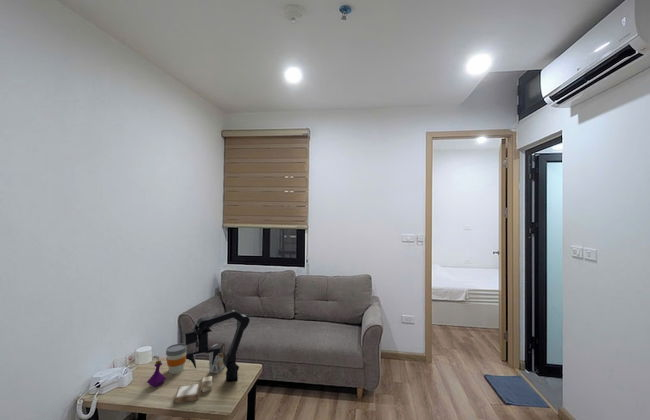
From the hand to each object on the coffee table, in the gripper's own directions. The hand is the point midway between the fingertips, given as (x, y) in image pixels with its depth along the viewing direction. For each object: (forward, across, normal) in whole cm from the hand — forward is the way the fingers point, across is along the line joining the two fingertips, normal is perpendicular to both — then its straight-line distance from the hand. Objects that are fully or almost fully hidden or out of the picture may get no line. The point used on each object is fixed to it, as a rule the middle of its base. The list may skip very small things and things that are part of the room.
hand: (204, 366), depth 180 cm
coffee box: (+13, -7, -20) cm, 25 cm away
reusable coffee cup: (+13, +18, -30) cm, 37 cm away
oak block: (+13, -1, +1) cm, 13 cm away
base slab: (+13, +9, +4) cm, 16 cm away
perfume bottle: (+13, +27, -14) cm, 33 cm away
